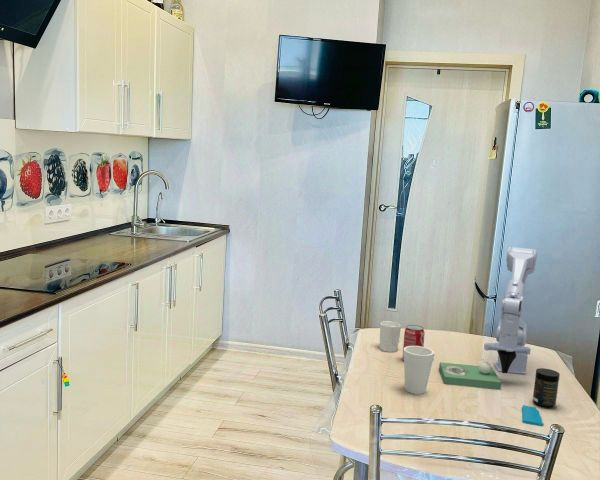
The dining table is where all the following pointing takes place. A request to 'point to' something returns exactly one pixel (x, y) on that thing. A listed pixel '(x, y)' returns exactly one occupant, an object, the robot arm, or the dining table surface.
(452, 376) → the putting mat
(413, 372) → the foam cup
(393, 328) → the white cup
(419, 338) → the soda can
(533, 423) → the sponge
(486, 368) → the ball
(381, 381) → the dining table surface
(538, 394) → the supplement container
